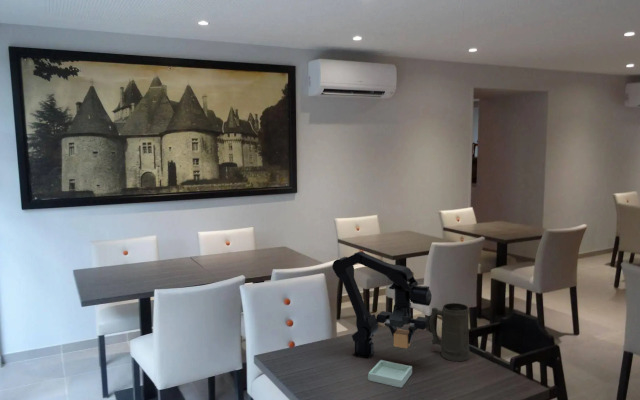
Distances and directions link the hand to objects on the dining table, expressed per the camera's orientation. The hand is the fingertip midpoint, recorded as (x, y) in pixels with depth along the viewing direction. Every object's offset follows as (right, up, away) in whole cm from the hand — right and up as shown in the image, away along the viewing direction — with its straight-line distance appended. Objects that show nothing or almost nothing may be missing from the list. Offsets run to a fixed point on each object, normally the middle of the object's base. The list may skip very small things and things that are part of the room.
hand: (402, 342), depth 178 cm
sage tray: (-6, -9, -10) cm, 15 cm away
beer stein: (+19, -7, +7) cm, 22 cm away
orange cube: (0, -1, 0) cm, 1 cm away
